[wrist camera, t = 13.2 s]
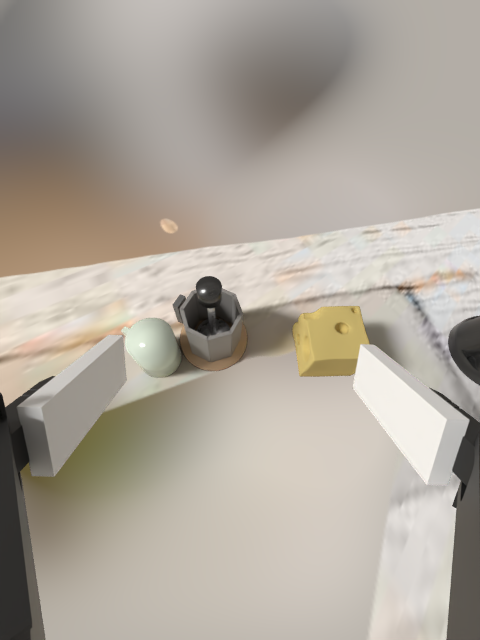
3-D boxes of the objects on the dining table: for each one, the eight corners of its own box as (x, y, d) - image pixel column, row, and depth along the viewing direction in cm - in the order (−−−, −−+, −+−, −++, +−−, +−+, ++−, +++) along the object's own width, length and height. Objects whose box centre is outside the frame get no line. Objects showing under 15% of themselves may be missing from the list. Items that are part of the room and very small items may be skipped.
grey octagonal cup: (200, 300, 59) (194, 267, 49) (257, 326, 57) (263, 297, 47) (165, 351, 53) (152, 325, 44) (228, 382, 51) (228, 362, 41)
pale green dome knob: (146, 329, 55) (133, 305, 47) (189, 350, 54) (182, 329, 46) (122, 361, 52) (103, 342, 44) (167, 384, 50) (155, 369, 42)
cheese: (290, 329, 57) (302, 304, 48) (342, 328, 57) (363, 303, 48) (297, 379, 52) (312, 361, 43) (354, 378, 52) (379, 360, 44)
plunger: (207, 314, 55) (200, 262, 41) (236, 328, 54) (239, 278, 40) (190, 341, 52) (177, 294, 38) (220, 355, 51) (218, 313, 37)
